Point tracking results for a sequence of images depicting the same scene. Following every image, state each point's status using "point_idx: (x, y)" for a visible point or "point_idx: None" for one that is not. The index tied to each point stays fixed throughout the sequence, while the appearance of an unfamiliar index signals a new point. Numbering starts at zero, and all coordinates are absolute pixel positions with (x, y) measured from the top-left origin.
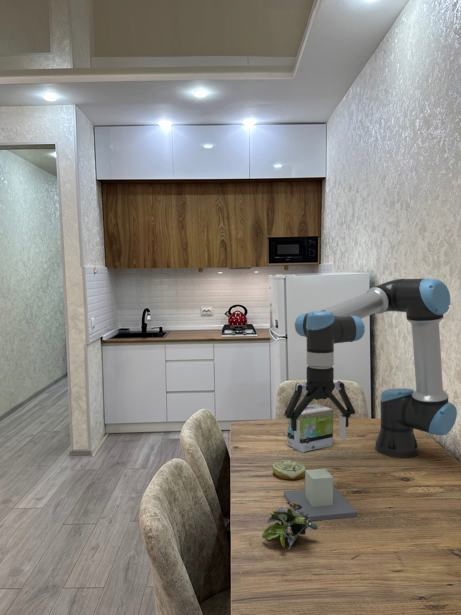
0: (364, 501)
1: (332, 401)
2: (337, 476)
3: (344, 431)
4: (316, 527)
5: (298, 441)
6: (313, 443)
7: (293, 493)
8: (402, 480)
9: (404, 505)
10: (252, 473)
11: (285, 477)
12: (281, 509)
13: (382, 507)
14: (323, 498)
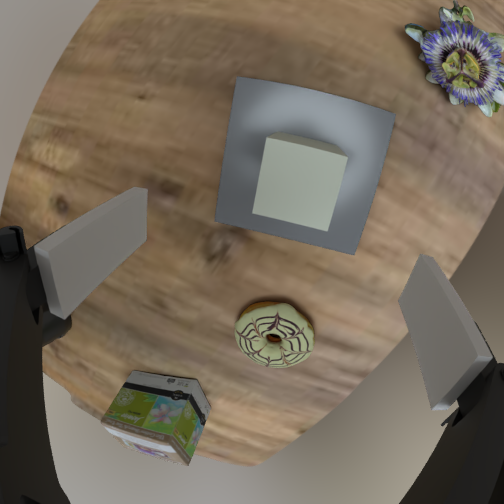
0: (178, 138)
1: (34, 438)
2: (174, 273)
3: (110, 204)
4: (410, 23)
5: (431, 260)
6: (167, 386)
7: (339, 232)
8: (66, 202)
9: (111, 98)
10: (347, 358)
11: (301, 314)
12: (496, 81)
13: (156, 100)
14: (305, 139)
